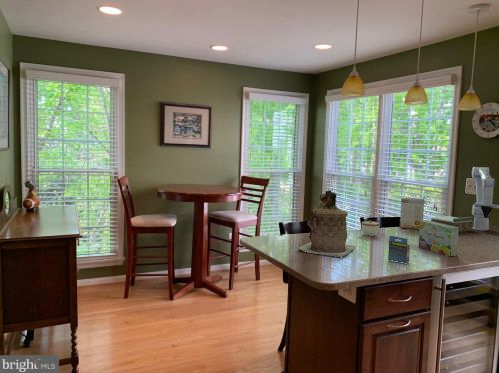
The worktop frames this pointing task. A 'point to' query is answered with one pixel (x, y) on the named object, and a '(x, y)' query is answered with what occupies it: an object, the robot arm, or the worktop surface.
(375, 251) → the worktop surface
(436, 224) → the snack box
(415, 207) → the cracker box
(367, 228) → the lidded jar
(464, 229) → the crate
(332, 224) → the cookie jar
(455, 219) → the lid
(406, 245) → the label tape box
